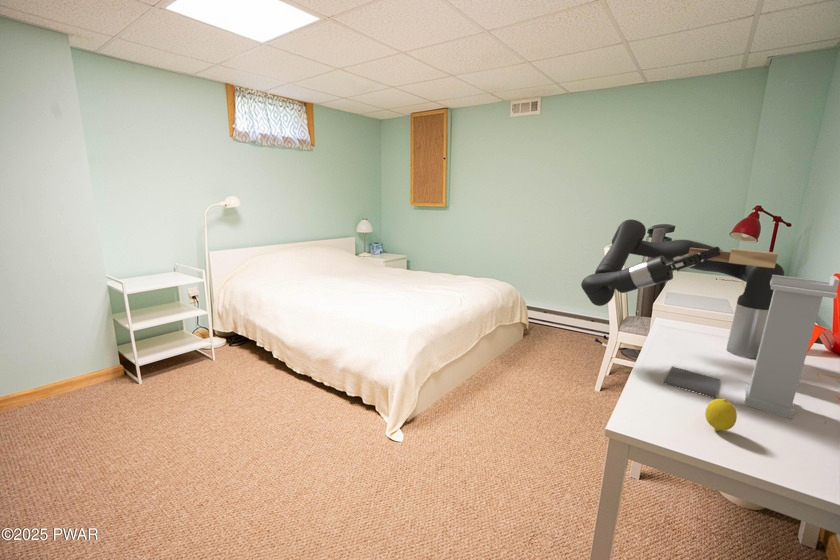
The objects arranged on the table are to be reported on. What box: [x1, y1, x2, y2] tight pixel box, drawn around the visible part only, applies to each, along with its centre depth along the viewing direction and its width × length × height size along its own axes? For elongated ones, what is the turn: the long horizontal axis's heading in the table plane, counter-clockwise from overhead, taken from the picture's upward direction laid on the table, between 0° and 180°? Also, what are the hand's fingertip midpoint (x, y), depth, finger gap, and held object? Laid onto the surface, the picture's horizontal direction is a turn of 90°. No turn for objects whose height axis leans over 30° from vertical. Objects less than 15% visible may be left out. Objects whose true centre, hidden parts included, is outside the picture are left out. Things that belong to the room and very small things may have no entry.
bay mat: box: [663, 366, 721, 400], centre depth 111 cm, size 14×12×1 cm
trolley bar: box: [689, 247, 779, 268], centre depth 101 cm, size 4×18×4 cm, turn 49°
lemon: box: [704, 398, 738, 432], centre depth 87 cm, size 6×6×8 cm
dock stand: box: [744, 275, 840, 420], centre depth 96 cm, size 11×11×35 cm
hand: (719, 250), depth 102 cm, fingers closed on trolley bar, 2 cm apart
